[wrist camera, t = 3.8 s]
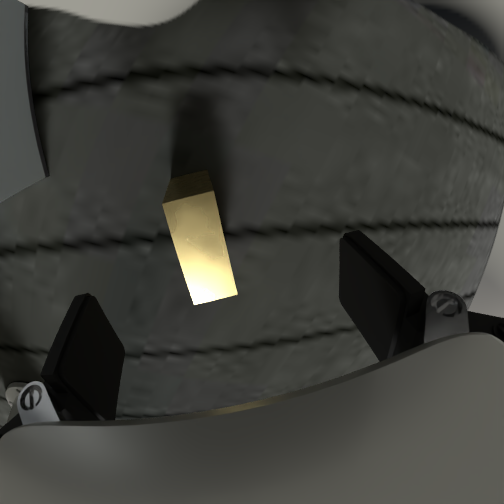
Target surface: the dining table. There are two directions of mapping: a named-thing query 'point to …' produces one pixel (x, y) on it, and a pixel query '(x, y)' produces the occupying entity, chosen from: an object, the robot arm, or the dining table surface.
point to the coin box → (17, 106)
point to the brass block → (199, 237)
